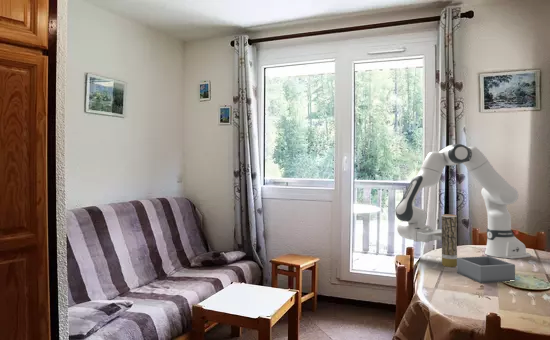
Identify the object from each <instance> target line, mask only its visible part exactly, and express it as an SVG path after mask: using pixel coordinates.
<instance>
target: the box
mask: <svg viewBox="0 0 550 340" xmlns="http://www.w3.org/2000/svg"><path fill="white" fill-rule="evenodd" d="M456 273H457V274H459V275H461V276H463V277H465V278H467V279H469V280H472V281H475V282H477V283H479V284H490V283H491V284H492V283H506V282H505V281H510V280H515V281H516V265H515V264H513V263H511V262H508V261H505V260H502V259H498V258H497V257H494V256H489V255H485V256H481V255H480V256H464V257H457V266H456ZM510 282H511V281H510Z"/></svg>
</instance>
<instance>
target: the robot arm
mask: <svg viewBox="0 0 550 340" xmlns="http://www.w3.org/2000/svg"><path fill="white" fill-rule="evenodd" d="M458 164H459V165H460V164H463V165H464V166H465V168H466V169H467V170H468V172H469V173H470V175H471V176H472V178H473V179H474V180H475V181H476V183H477V184H479V185H480V186H481V187H482V188H481V192H480V193H481V197H482V198H483V201H484V205H485V209H486V214H487V215H486V216H487V228H486V238H487V240H486V247H485V251H484V255H485V256H490V257H493V258H504V259H505V258H506V259H512V260H513V259H521V258H522V259H523V258H530V257H532V254H531V253H529V252H527V247H526V245H525V244H524V243H523V242H522V241H520V240H519V239H518V238H517V237H516V236H515V235H519V231H518V230H512V215H511V212H509V210H508V205H511V204H515V202H517V200H518V199H519V191H518V190H517V189H516V188H515V187H514V186H512V185H511V184H510V183H509V182H508V181H507V180H506V179H505V178H504V177H503V176H502V175H501V174H500V173H499V172H498V171H497V170H496V169H495V167H494V166H493V165H492V164H491V162H490V160H489V159H487V157H486V156H485V155H484V153H483V152H482V151H481V150H480V149H479V148H478V147H476V146H473V145H472V146H466V145H464V144H462V143H455V144H450V145H447V146H445V147H442V148H441V149H439V150H438V151H430V152H428V153H427V155H426V157H425V158H424V160H423V162H422V165H421V166H420V169H419V171H418V173H417V174H416V175H415V176H414V177H413V178H411V181H410V182H409V184H408V186H407V189H406V191H405V193H404V195H403V196H402V198H401V200H400V202H399V203H398V205H397V206H396V207H395V216H396V218H397V219H398V220H399V221H401V222H400V223H399V224H398V225H397V229H396V230H397V233H398V235H399V236H400V237H401V238H404V239H406V240H410V241H413V242H418V243H420V242H421V243H430V242H431V241H432V242H433V241H442V240H443V237H442V228H441V229H432V227H431V226H430V225H427V224H426V222H427V217H428V216H427V212H426V211H425V210H424V209H422V208H421V207H418V206H416V205H414V202H415V200H416V198H417V196H418V194H419V192H420V190H422V189H424V188H431V187H435V186H436V185H437V184H438V183H439V181H440V180H441V178H442V174H443V172H444V168H445V167H448V166H456V165H457V166H458Z"/></svg>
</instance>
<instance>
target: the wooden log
mask: <svg viewBox="0 0 550 340" xmlns="http://www.w3.org/2000/svg"><path fill="white" fill-rule="evenodd" d="M457 219H458V218H457V214H450V213H448V214H447V213H446V214H445V213H444V214H441V230H442V237H443V240H441V264H442V266H443V267H446V268H457V258H458V232H457V229H458V228H457V226H458V223H457V222H458V221H457Z"/></svg>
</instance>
